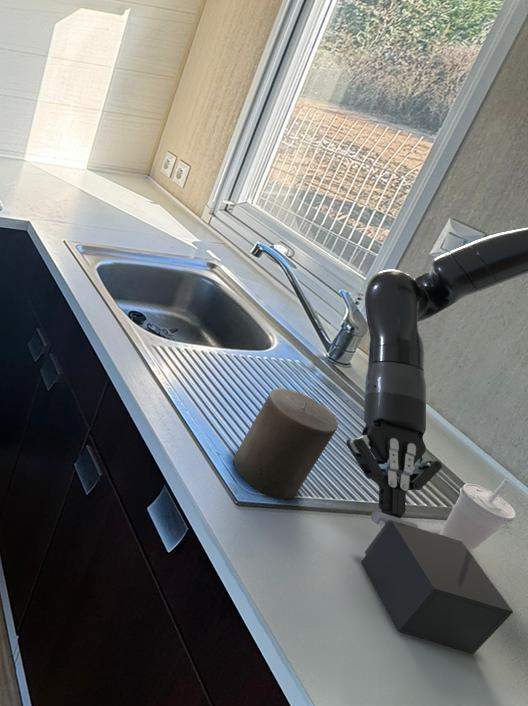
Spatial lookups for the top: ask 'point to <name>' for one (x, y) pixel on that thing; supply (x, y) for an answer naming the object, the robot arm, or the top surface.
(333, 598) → the top surface
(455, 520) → the smoothie
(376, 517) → the dark grey angled piece
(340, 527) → the top surface
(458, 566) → the dark grey box
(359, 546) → the top surface
